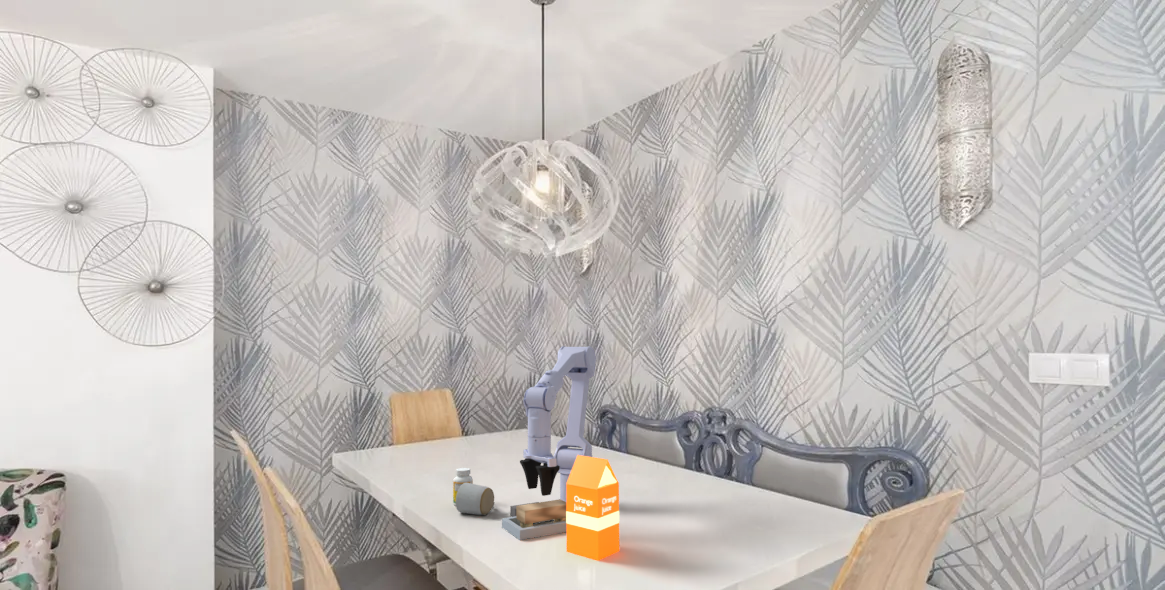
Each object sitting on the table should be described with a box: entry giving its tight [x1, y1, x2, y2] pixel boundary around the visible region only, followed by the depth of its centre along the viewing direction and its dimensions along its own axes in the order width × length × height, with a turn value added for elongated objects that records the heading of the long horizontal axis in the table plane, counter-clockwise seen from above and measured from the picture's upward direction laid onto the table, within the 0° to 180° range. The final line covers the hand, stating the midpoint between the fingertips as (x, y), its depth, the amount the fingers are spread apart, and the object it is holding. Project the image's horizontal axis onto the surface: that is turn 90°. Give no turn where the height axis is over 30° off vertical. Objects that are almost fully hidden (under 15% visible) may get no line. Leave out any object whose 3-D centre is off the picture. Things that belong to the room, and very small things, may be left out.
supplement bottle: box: [452, 467, 474, 507], centre depth 166 cm, size 5×5×10 cm
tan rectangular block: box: [516, 498, 566, 524], centre depth 144 cm, size 12×5×3 cm, turn 120°
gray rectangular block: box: [509, 501, 539, 517], centre depth 155 cm, size 8×3×2 cm, turn 120°
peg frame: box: [501, 516, 567, 541], centre depth 144 cm, size 17×11×2 cm, turn 120°
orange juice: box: [566, 455, 620, 562], centre depth 129 cm, size 8×9×20 cm
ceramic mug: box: [455, 483, 495, 516], centre depth 158 cm, size 11×8×8 cm
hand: (539, 491), depth 146 cm, fingers open, 7 cm apart
